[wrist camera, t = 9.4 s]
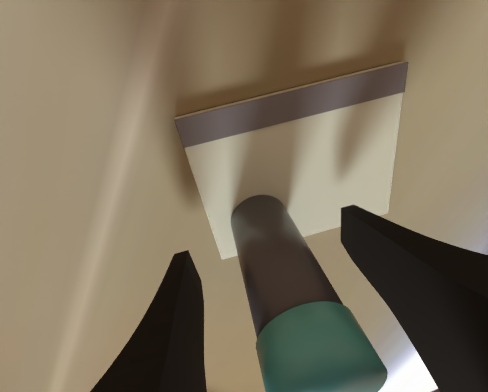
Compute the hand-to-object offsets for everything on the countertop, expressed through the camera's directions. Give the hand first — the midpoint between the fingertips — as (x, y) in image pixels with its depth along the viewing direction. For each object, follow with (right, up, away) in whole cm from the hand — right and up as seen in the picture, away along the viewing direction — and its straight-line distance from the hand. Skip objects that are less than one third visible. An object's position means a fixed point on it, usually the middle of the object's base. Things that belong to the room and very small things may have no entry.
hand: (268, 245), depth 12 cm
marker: (0, +1, +2) cm, 2 cm away
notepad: (+2, +4, +1) cm, 4 cm away
